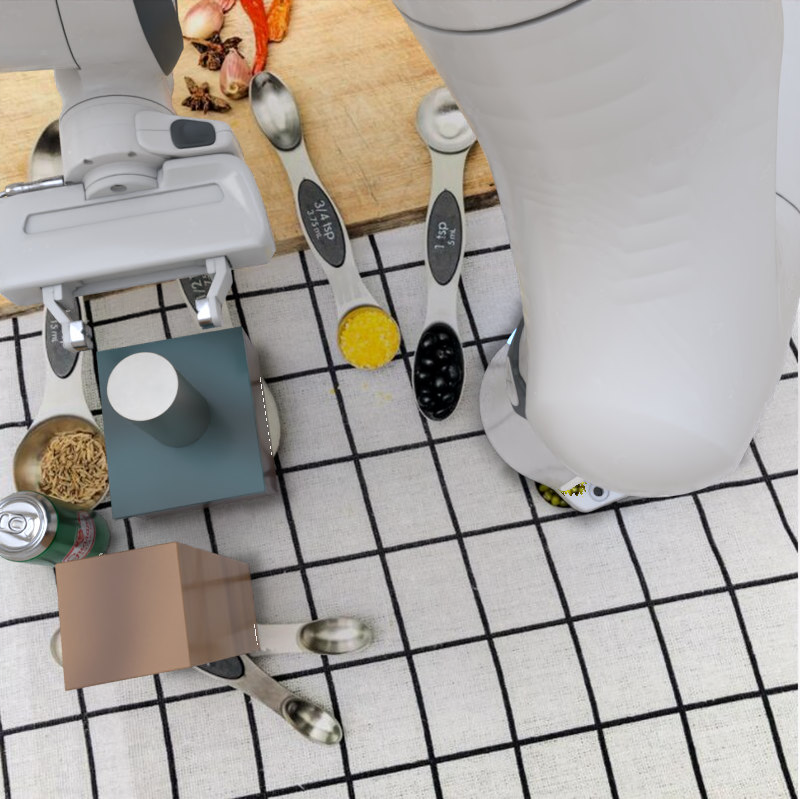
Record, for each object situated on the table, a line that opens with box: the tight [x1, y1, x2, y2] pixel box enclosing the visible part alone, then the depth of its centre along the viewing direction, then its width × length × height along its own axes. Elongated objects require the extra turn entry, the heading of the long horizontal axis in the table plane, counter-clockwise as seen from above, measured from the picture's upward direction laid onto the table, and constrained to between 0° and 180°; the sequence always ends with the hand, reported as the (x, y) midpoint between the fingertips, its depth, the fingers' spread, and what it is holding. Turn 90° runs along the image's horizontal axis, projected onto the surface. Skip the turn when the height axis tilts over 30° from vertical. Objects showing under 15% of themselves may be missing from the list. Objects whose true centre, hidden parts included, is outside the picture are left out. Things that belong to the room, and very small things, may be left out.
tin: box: [107, 352, 210, 447], centre depth 60 cm, size 5×5×9 cm
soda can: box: [0, 490, 111, 568], centre depth 64 cm, size 5×5×12 cm
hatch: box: [96, 325, 267, 521], centre depth 65 cm, size 13×12×1 cm
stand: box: [54, 541, 261, 692], centre depth 57 cm, size 7×7×22 cm
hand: (145, 337), depth 59 cm, fingers open, 8 cm apart
